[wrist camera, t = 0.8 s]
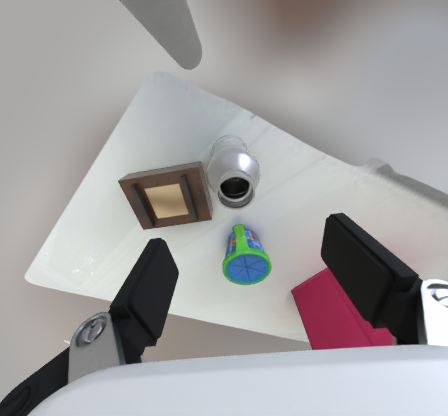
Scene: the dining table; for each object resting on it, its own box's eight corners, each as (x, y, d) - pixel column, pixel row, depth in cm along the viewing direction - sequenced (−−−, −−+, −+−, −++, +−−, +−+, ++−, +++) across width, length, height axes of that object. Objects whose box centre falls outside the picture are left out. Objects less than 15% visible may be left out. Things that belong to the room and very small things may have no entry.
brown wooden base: (128, 174, 35) (113, 183, 30) (200, 161, 34) (197, 169, 29) (150, 220, 41) (140, 234, 36) (212, 210, 40) (211, 223, 35)
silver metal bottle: (214, 130, 31) (203, 151, 14) (249, 137, 32) (281, 166, 14) (209, 164, 34) (195, 216, 17) (241, 169, 35) (259, 226, 17)
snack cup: (262, 257, 48) (270, 290, 39) (226, 260, 48) (226, 293, 39) (262, 212, 40) (273, 240, 31) (219, 216, 41) (217, 245, 32)
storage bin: (286, 291, 56) (335, 433, 31) (365, 239, 44) (542, 399, 20) (335, 317, 64) (405, 445, 39) (413, 279, 53) (579, 426, 28)
